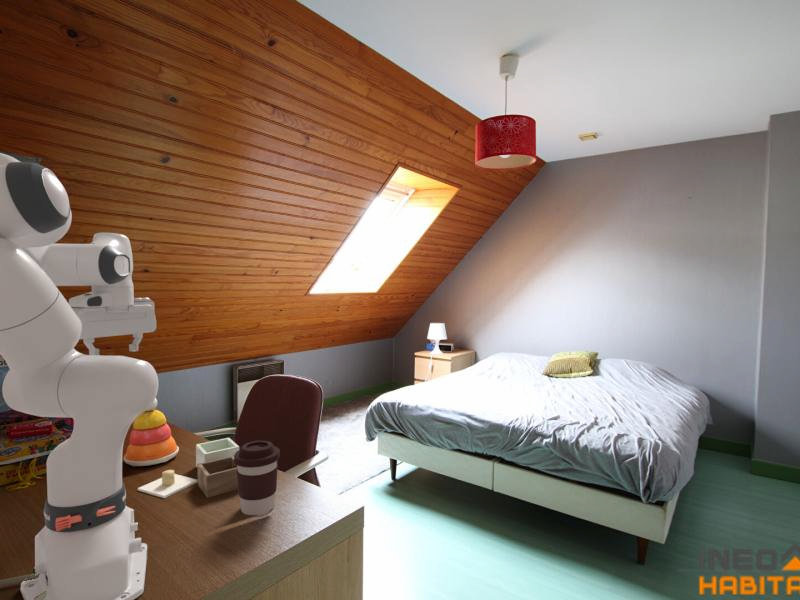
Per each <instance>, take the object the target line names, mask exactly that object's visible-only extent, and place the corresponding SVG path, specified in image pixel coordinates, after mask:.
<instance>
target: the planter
mask: <svg viewBox="0 0 800 600" xmlns="http://www.w3.org/2000/svg"><path fill="white" fill-rule="evenodd" d="M239 450H240V446H239V445H238V444H237V443H236V442H235V441H234V440H233V439H231V438H230V437H226V438H220V439H215V440H211V441H206V442H202V443H197V444H196V443H195V467H196V468H197V464H200V463H204V462H208V461H213V460H217V459H221V458H226V457H230V456H234V454H235V453H236V452H237V451H239Z"/></svg>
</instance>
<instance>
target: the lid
mask: <svg viewBox="0 0 800 600" xmlns="http://www.w3.org/2000/svg"><path fill="white" fill-rule="evenodd" d="M195 484H198V479H196V478H192V477H188V476H184V475H181V474H177V473H175V470H174V469H167V470H164V471H162V472H161V477H160V478H157V479H155V480H154V481H150V482H149V483H147V484H144V485H142V486H140V487H137V491H139V492H141V493H142V492H143V493H145V494H148V495H152V496H155V497H158V498H162V499H166V498H168V497H170V496H172V495H174V494H176V493H178V492H180V491H183V490H185V489H186V488H189V487H190V486H193V485H195Z"/></svg>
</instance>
